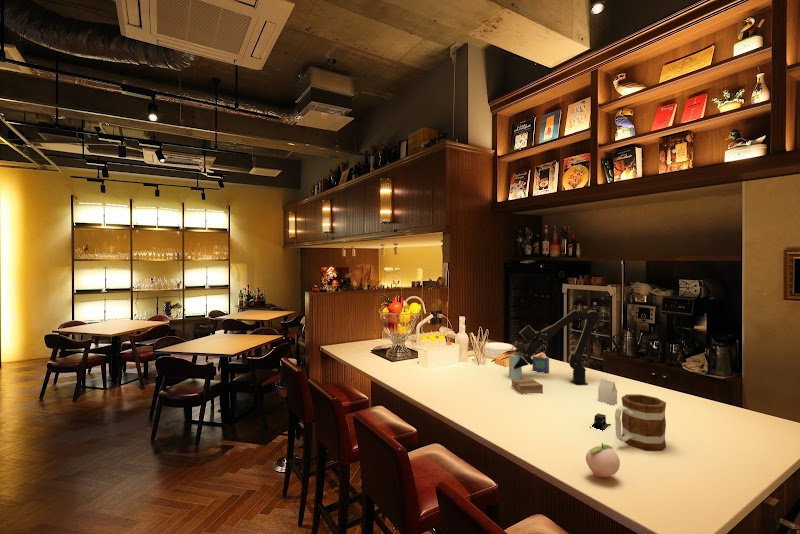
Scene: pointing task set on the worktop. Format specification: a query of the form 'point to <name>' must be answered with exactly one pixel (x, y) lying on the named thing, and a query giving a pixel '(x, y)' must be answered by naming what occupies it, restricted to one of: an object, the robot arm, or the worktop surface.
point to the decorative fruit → (603, 460)
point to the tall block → (513, 373)
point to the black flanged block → (600, 422)
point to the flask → (541, 364)
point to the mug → (641, 422)
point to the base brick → (527, 386)
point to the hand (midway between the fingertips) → (512, 367)
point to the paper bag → (607, 392)
